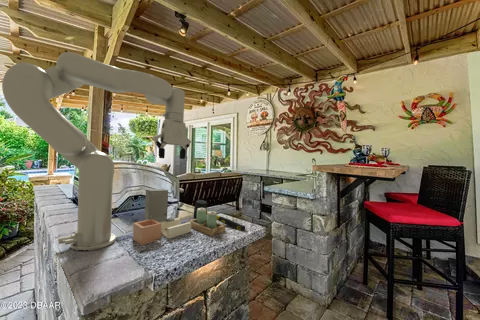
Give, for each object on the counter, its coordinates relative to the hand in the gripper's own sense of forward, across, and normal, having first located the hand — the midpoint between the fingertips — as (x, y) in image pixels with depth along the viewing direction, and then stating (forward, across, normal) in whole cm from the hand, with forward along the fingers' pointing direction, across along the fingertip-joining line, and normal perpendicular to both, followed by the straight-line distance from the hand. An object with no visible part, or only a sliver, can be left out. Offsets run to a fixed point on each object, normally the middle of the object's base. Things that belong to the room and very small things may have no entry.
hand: (172, 158), depth 86 cm
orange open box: (+30, -12, -5) cm, 33 cm away
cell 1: (+29, +10, -9) cm, 32 cm away
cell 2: (+29, +10, -16) cm, 35 cm away
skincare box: (+30, -2, +8) cm, 31 cm away
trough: (+30, +10, -12) cm, 34 cm away
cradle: (+30, -2, -7) cm, 31 cm away
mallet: (+30, +19, -10) cm, 37 cm away
